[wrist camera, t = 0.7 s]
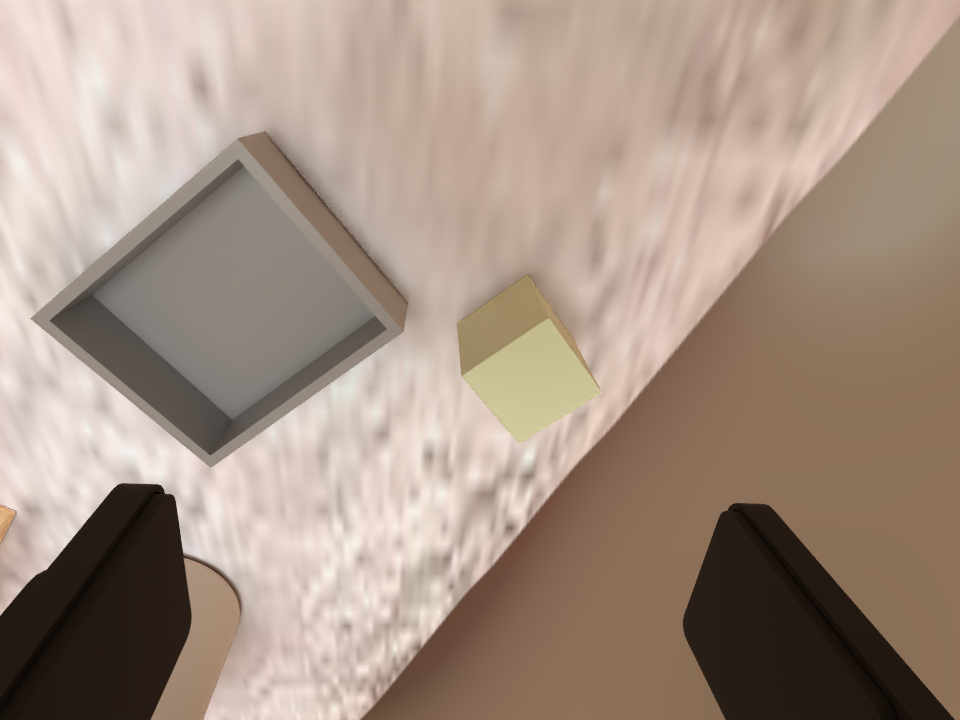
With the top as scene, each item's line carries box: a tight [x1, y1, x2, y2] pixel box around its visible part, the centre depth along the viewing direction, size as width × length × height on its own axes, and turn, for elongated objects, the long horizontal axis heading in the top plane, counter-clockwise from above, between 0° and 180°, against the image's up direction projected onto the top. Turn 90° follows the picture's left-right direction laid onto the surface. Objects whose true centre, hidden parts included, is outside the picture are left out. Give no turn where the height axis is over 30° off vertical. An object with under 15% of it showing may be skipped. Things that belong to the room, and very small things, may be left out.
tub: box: [30, 132, 408, 467], centre depth 35 cm, size 16×13×5 cm
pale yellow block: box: [457, 275, 602, 444], centre depth 36 cm, size 6×6×8 cm
